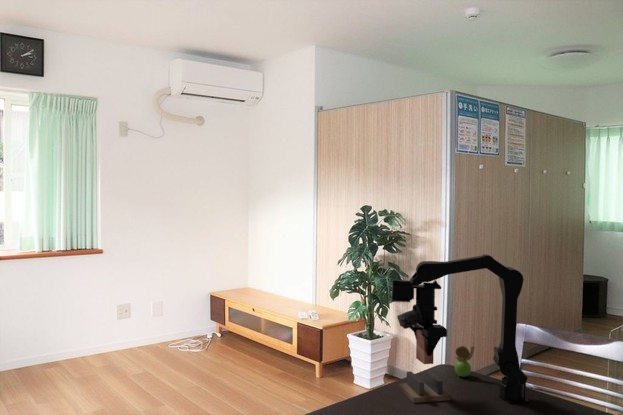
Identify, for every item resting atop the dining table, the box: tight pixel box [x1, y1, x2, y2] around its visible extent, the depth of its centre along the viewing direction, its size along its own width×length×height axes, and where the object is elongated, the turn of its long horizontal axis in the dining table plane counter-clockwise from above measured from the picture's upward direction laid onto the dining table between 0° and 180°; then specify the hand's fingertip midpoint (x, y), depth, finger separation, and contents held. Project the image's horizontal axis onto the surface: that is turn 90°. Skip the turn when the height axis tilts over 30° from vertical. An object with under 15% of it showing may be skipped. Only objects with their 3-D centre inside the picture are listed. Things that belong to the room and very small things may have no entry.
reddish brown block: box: [415, 329, 434, 365], centre depth 160 cm, size 3×6×9 cm, turn 12°
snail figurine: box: [454, 341, 476, 378], centre depth 176 cm, size 5×6×12 cm
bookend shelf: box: [398, 370, 452, 404], centre depth 161 cm, size 12×12×6 cm
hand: (424, 352), depth 160 cm, fingers closed on reddish brown block, 6 cm apart
